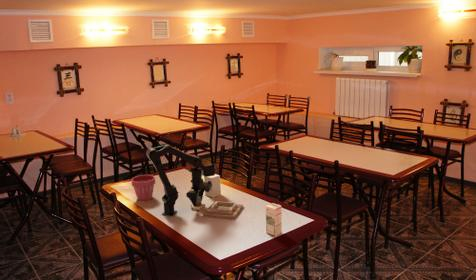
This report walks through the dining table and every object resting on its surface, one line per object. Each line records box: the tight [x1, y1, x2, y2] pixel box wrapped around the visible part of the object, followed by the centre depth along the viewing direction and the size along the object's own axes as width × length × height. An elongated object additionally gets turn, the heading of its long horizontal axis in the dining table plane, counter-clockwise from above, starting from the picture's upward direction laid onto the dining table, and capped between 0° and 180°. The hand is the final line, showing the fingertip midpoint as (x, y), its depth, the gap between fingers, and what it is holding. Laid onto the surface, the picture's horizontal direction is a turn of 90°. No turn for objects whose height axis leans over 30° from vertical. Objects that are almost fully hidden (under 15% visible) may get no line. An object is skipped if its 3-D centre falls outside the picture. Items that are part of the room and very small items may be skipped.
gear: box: [190, 196, 206, 212], centre depth 247 cm, size 8×8×6 cm
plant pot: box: [130, 174, 156, 201], centre depth 265 cm, size 14×14×13 cm
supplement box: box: [203, 173, 222, 198], centre depth 267 cm, size 7×7×13 cm
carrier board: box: [202, 200, 244, 220], centre depth 241 cm, size 18×18×4 cm
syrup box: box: [265, 202, 283, 237], centre depth 211 cm, size 6×6×14 cm
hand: (197, 203), depth 247 cm, fingers open, 9 cm apart
